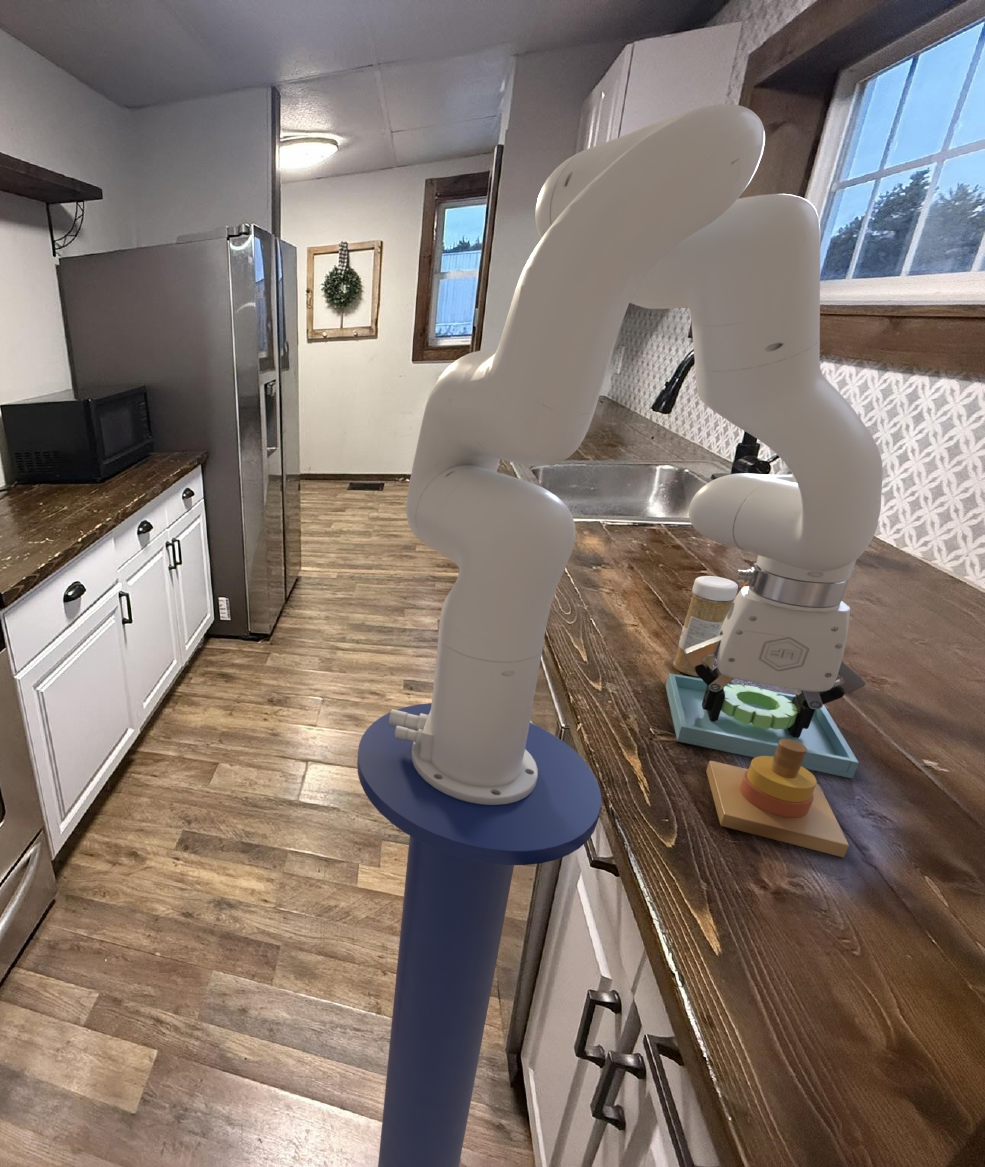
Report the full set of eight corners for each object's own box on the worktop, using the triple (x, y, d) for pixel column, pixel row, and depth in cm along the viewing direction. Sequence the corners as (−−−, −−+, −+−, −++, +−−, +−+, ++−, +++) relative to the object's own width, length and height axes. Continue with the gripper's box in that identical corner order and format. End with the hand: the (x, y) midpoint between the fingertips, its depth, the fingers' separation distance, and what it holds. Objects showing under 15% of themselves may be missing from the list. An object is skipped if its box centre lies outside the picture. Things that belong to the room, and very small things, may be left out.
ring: (722, 720, 73) (725, 708, 72) (712, 690, 78) (715, 679, 78) (801, 735, 70) (805, 723, 69) (785, 703, 75) (788, 692, 75)
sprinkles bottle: (681, 658, 90) (704, 572, 85) (718, 671, 86) (745, 582, 81) (665, 668, 88) (688, 580, 83) (703, 682, 84) (729, 590, 79)
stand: (720, 826, 61) (742, 759, 58) (705, 771, 68) (725, 709, 65) (844, 858, 57) (875, 788, 54) (814, 796, 64) (841, 731, 61)
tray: (677, 741, 73) (681, 726, 72) (665, 686, 84) (669, 673, 83) (852, 778, 66) (859, 762, 65) (815, 713, 77) (821, 699, 76)
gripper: (702, 587, 69) (665, 721, 76) (923, 612, 61) (860, 761, 68) (692, 564, 75) (659, 691, 82) (892, 585, 67) (837, 723, 74)
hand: (750, 721), depth 75 cm, fingers closed on ring, 6 cm apart
